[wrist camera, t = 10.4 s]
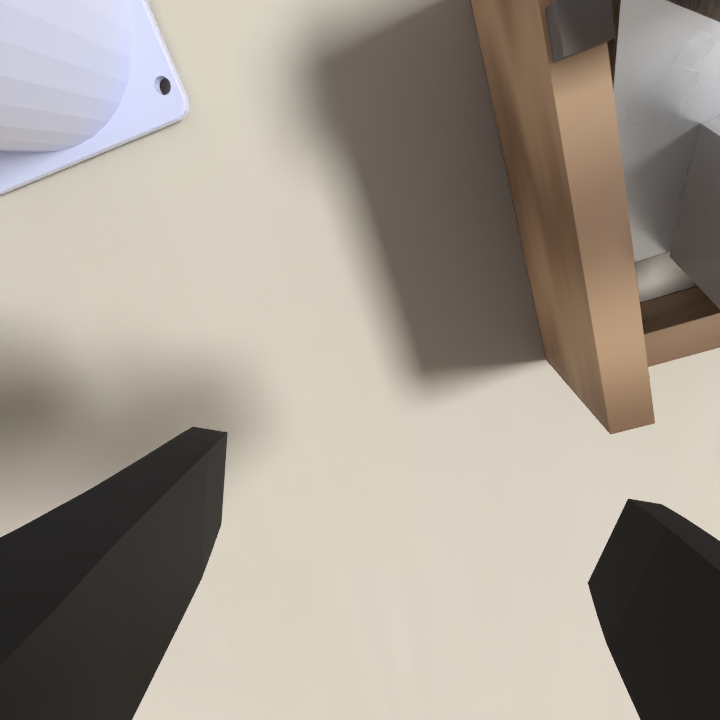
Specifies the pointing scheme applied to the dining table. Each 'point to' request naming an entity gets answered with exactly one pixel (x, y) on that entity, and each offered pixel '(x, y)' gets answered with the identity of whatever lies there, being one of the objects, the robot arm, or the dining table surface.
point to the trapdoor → (662, 106)
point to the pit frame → (580, 206)
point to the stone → (702, 215)
